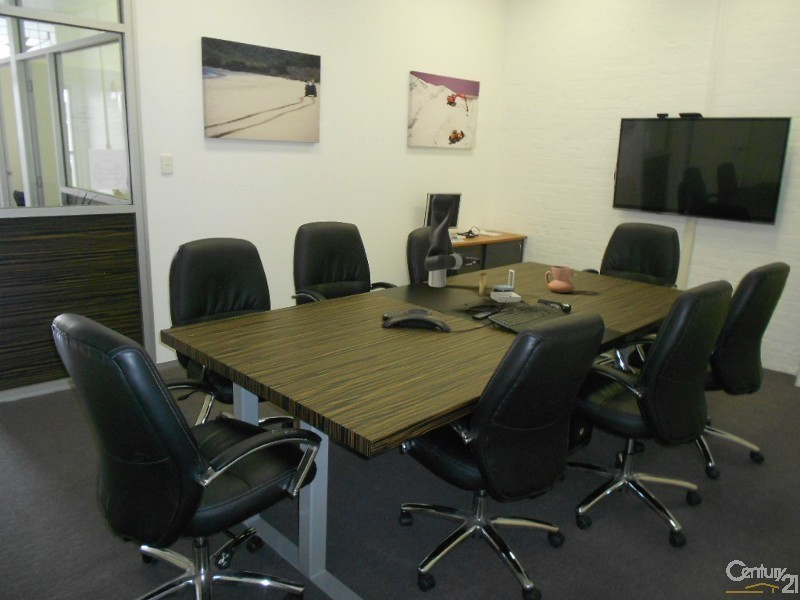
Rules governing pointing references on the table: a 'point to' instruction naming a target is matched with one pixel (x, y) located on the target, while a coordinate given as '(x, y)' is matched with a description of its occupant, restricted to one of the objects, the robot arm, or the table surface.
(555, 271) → the ceramic jug
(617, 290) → the table surface
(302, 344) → the table surface
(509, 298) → the tray
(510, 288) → the trolley
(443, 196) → the robot arm
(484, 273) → the stop pin
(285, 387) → the table surface
